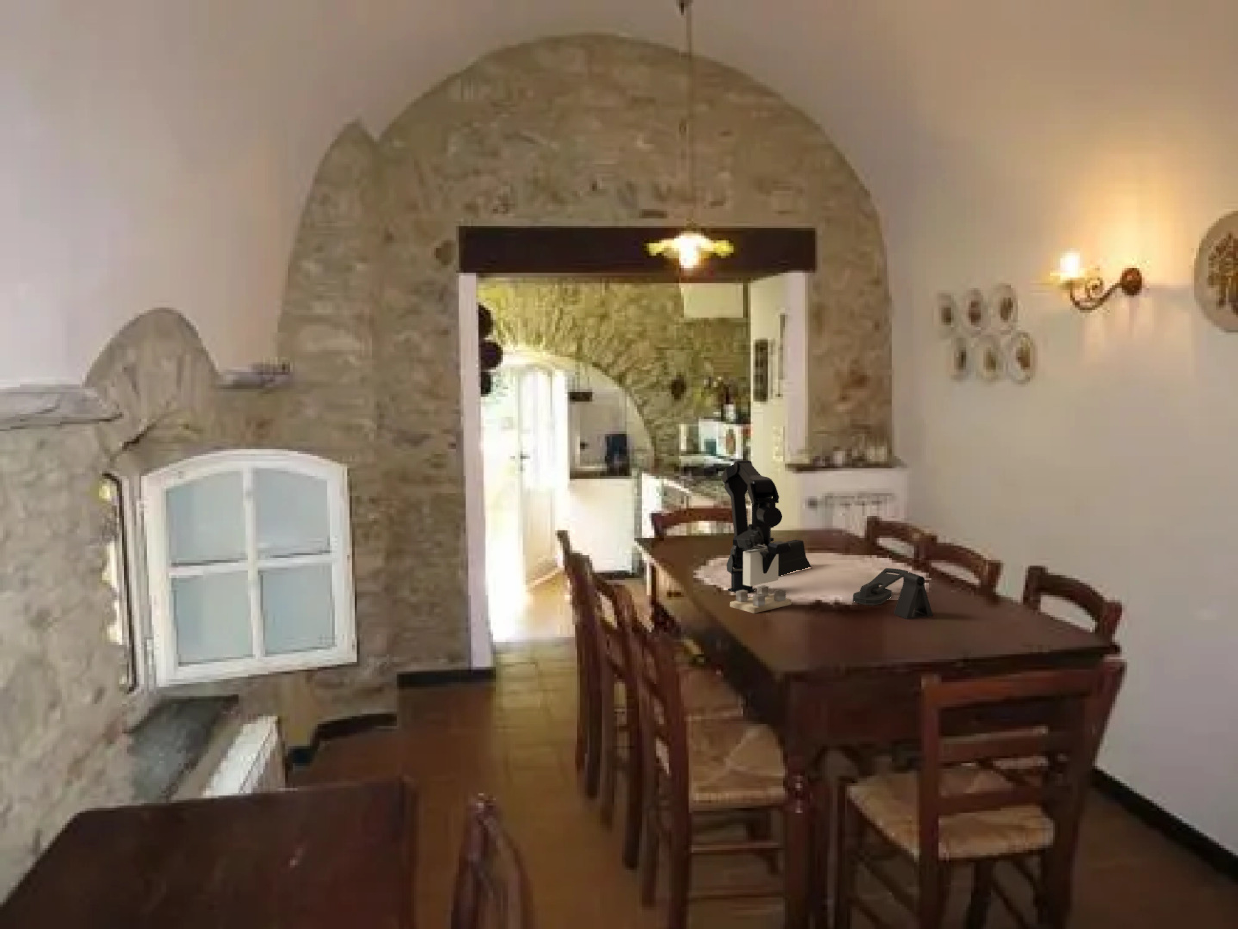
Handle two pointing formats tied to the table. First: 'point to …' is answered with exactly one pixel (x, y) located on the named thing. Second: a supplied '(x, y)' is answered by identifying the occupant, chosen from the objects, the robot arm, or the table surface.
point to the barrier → (793, 558)
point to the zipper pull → (873, 592)
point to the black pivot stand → (913, 598)
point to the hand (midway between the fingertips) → (760, 572)
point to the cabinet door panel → (758, 568)
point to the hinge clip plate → (762, 608)
